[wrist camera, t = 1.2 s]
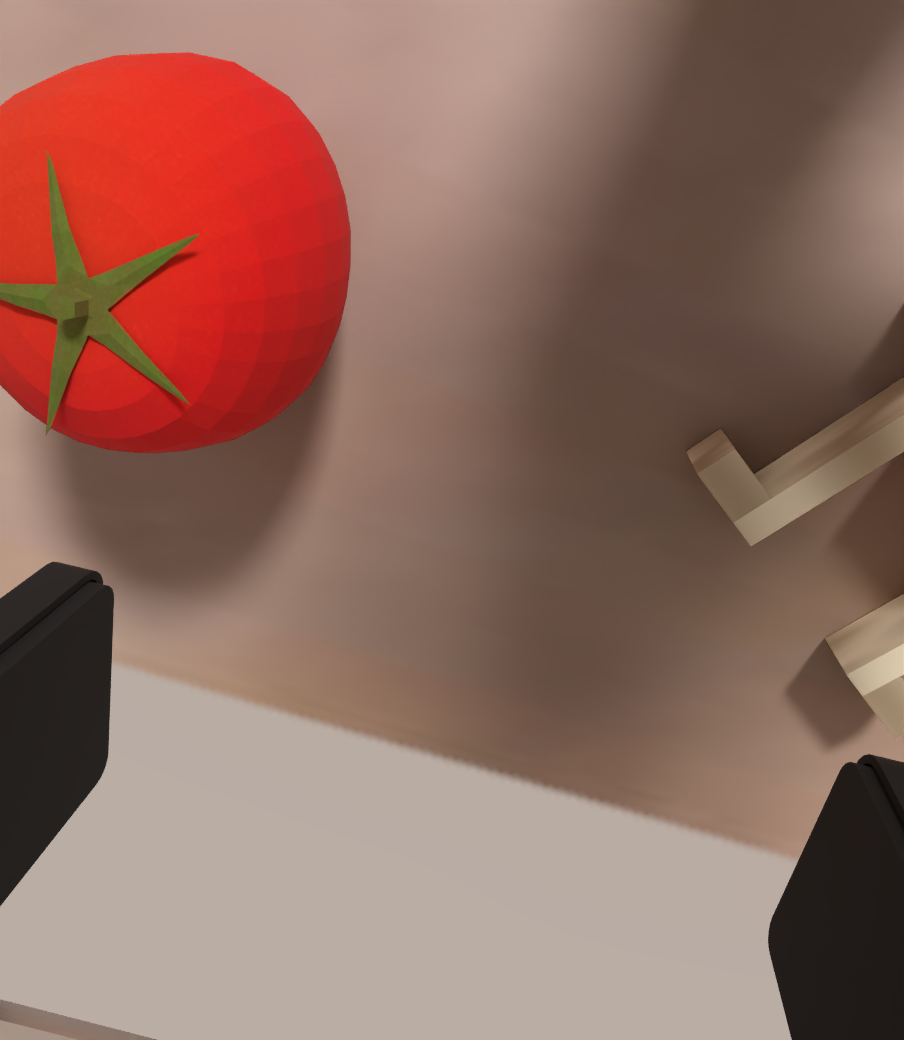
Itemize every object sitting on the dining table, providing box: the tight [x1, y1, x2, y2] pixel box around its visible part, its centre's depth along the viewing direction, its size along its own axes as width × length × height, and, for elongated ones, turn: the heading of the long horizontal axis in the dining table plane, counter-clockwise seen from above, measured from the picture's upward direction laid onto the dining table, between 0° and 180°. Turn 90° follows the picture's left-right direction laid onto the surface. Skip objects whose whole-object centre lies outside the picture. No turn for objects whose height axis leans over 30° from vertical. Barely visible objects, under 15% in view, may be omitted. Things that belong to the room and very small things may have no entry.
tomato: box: [0, 53, 351, 453], centre depth 27 cm, size 13×11×14 cm
